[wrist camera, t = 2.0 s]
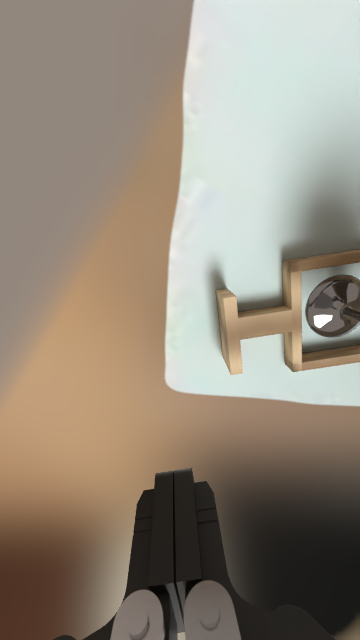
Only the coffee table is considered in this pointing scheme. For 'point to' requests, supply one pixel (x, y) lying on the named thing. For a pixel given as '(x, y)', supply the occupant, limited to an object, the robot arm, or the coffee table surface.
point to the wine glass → (334, 306)
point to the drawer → (282, 319)
